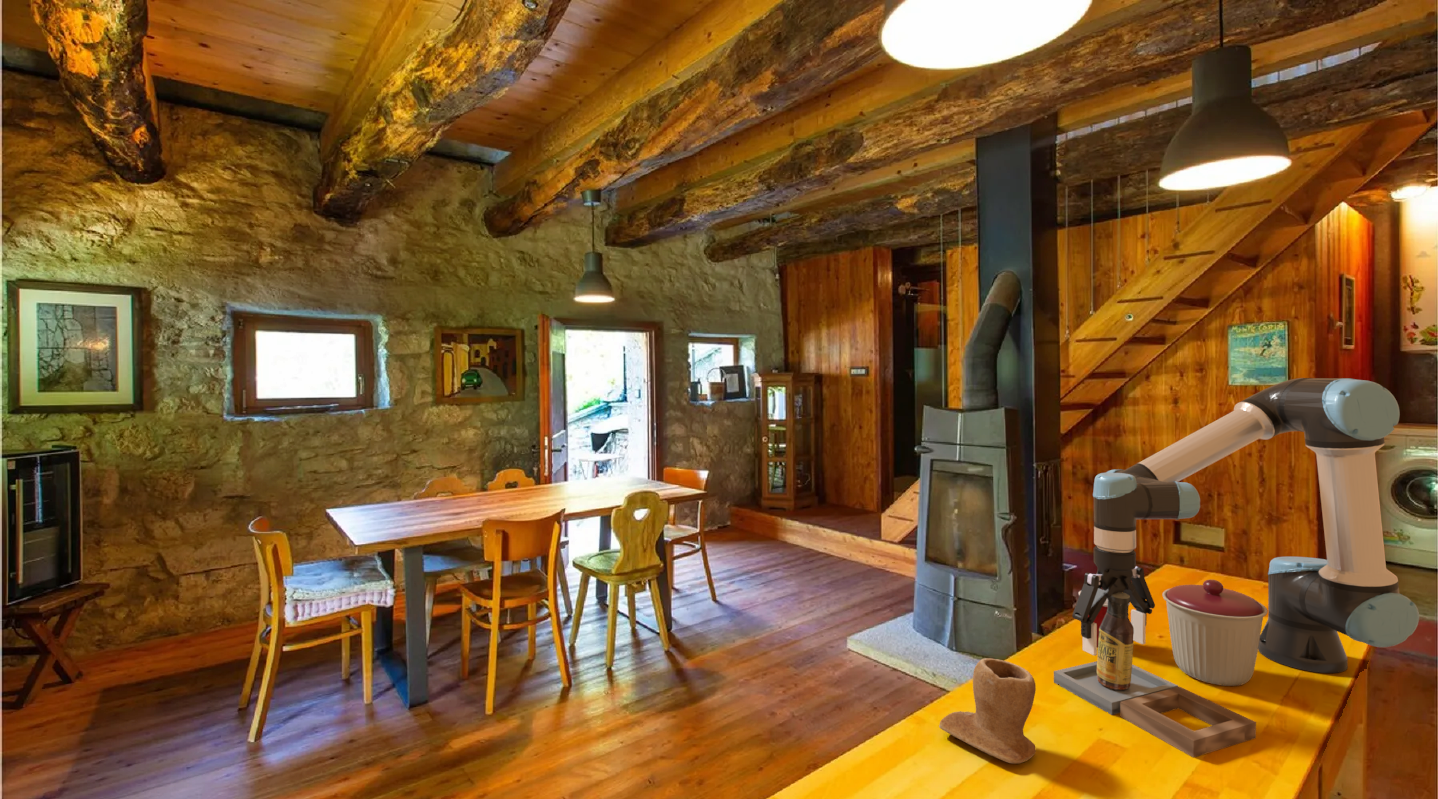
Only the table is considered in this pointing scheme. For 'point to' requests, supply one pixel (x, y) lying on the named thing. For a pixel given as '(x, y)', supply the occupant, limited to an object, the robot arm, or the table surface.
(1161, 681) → the tray
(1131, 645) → the sauce bottle
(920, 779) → the table surface
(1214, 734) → the bottle stand
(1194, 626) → the canister
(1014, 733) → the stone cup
